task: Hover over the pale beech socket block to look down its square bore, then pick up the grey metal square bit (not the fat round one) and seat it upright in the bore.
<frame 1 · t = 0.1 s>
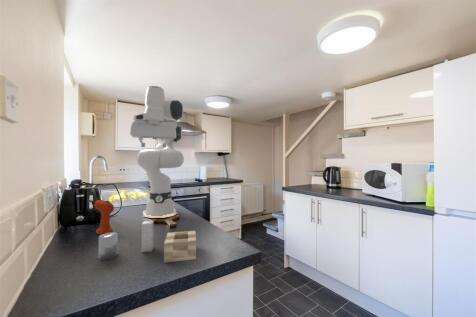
hand: (153, 147, 95), 39 cm above the table, tool pointing down, fingers open, 8 cm apart
socket block: (181, 253, 70), on the table
toy drill: (98, 231, 92), on the table
square bit: (147, 249, 73), on the table
round bit: (108, 256, 68), on the table
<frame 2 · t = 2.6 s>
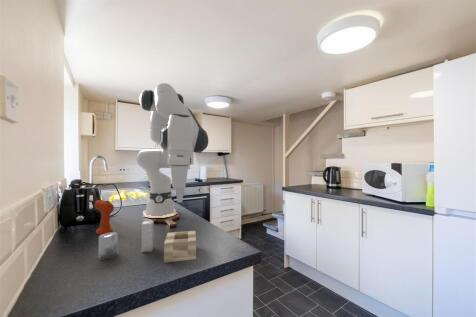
hand: (180, 199, 70), 19 cm above the table, tool pointing down, fingers open, 8 cm apart
nothing on the table moved.
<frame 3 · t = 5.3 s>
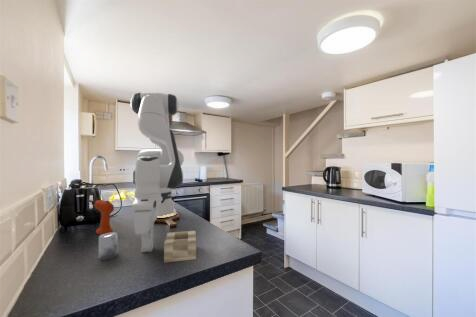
hand: (147, 238, 73), 4 cm above the table, tool pointing down, fingers closed on square bit, 3 cm apart
square bit: (147, 249, 73), on the table, touching gripper
everything else where it was.
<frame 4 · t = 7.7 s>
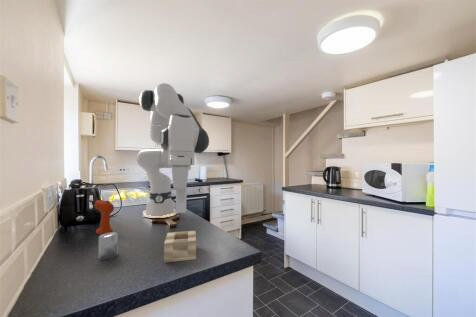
hand: (181, 199, 70), 19 cm above the table, tool pointing down, fingers closed on square bit, 3 cm apart
square bit: (181, 211, 70), point 15 cm above the table, touching gripper
everything else where it was.
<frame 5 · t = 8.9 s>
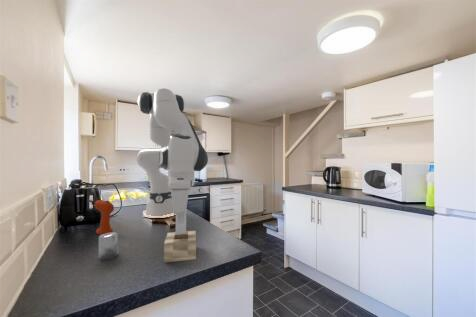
hand: (181, 220, 70), 12 cm above the table, tool pointing down, fingers closed on square bit, 3 cm apart
square bit: (181, 232, 70), point 7 cm above the table, touching gripper
everything else where it was.
when the fingers open (8 cm above the table, at t = 9.9 s): square bit drops 2 cm, resting on socket block.
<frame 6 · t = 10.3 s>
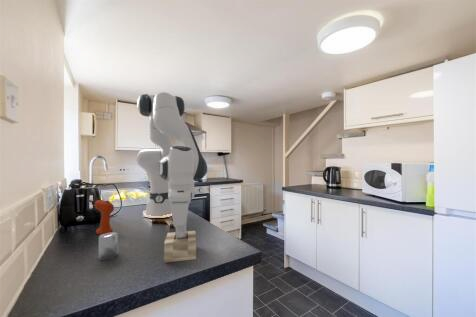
hand: (181, 232, 70), 8 cm above the table, tool pointing down, fingers open, 7 cm apart
square bit: (180, 250, 70), point 1 cm above the table, touching socket block
everything else where it was.
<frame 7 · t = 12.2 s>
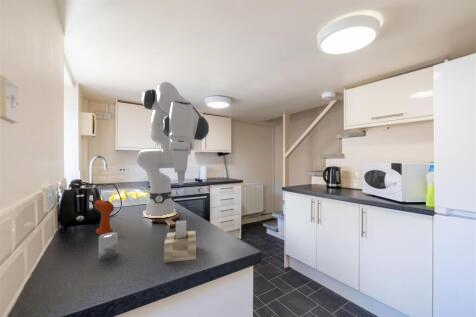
hand: (181, 182, 74), 24 cm above the table, tool pointing down, fingers open, 8 cm apart
nothing on the table moved.
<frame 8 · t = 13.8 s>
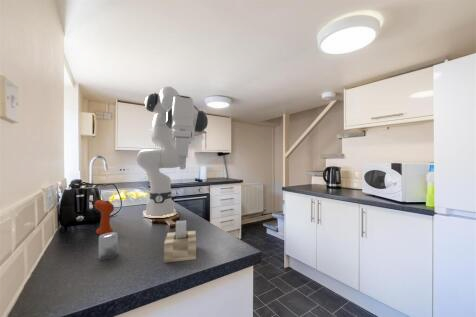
hand: (182, 168, 82), 29 cm above the table, tool pointing down, fingers open, 8 cm apart
nothing on the table moved.
at the end: square bit 0.1 cm off-centre on the socket block, point 1.0 cm above the socket block's base; square bit tilted 0°; the gripper is holding nothing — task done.
